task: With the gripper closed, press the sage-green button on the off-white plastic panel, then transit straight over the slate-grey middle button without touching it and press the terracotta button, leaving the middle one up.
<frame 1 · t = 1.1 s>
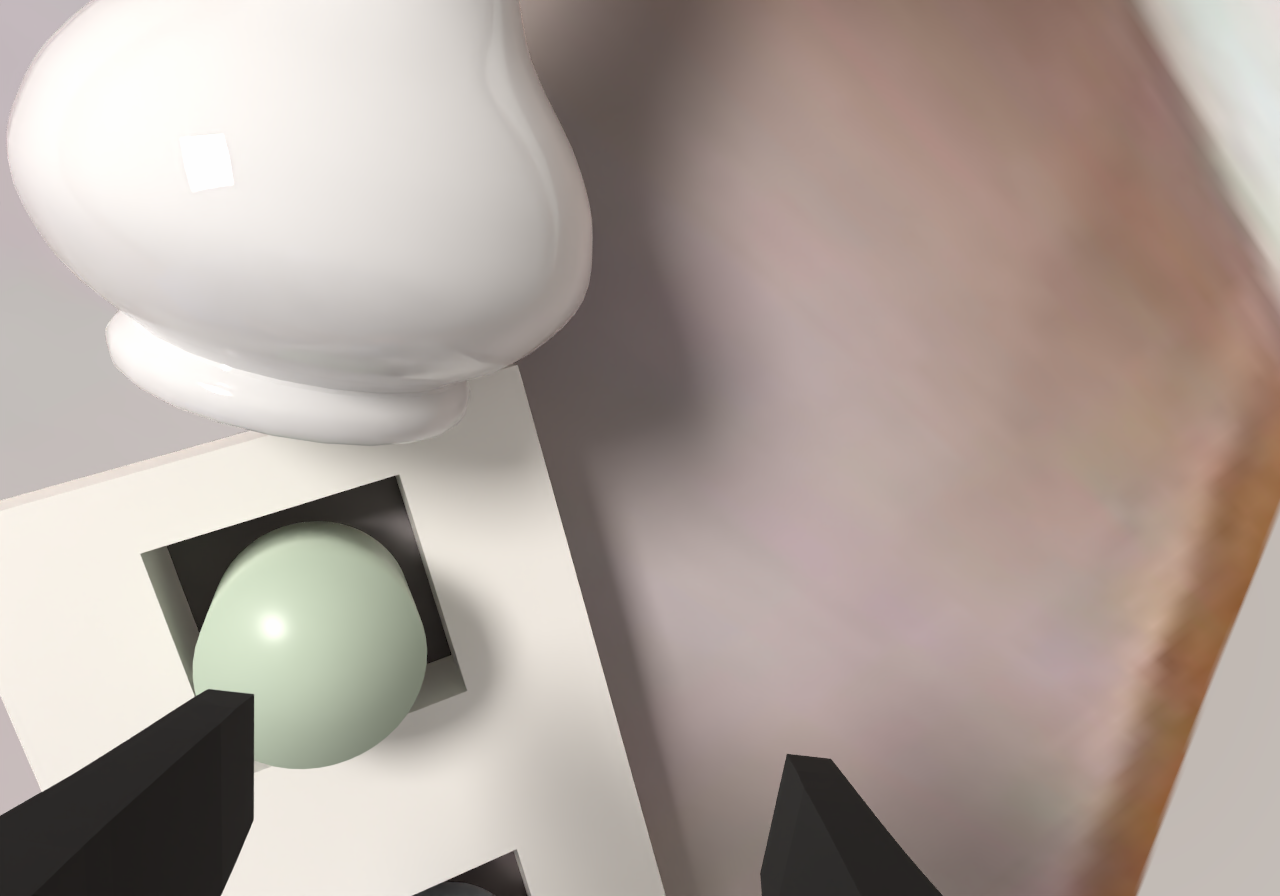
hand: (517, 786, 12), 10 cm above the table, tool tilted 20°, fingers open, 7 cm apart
sage button: (314, 635, 18), point 3 cm above the table, slide at 0.0 cm
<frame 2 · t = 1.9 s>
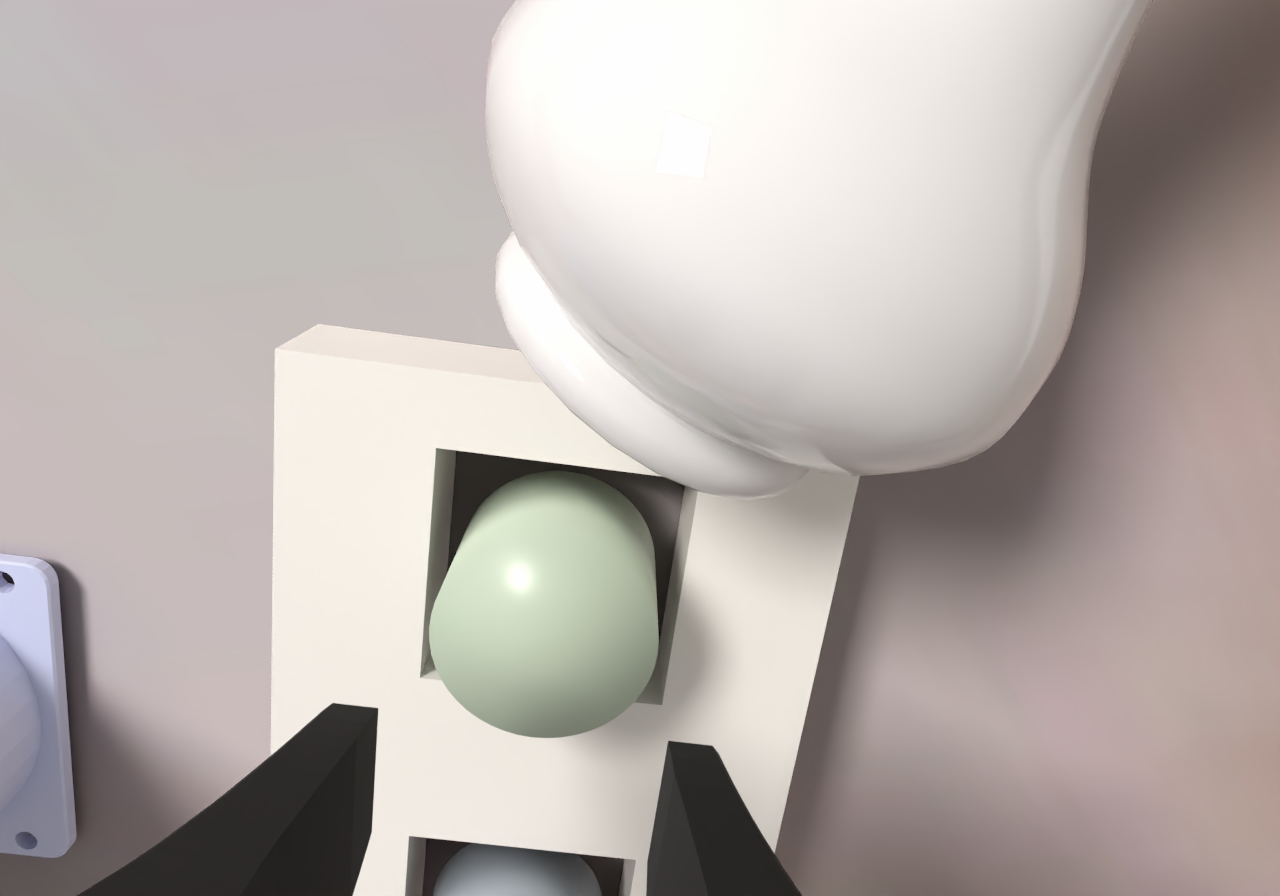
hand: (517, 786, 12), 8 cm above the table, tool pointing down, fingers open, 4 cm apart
panel: (524, 857, 23), on the table
sage button: (552, 597, 17), point 3 cm above the table, slide at 0.0 cm
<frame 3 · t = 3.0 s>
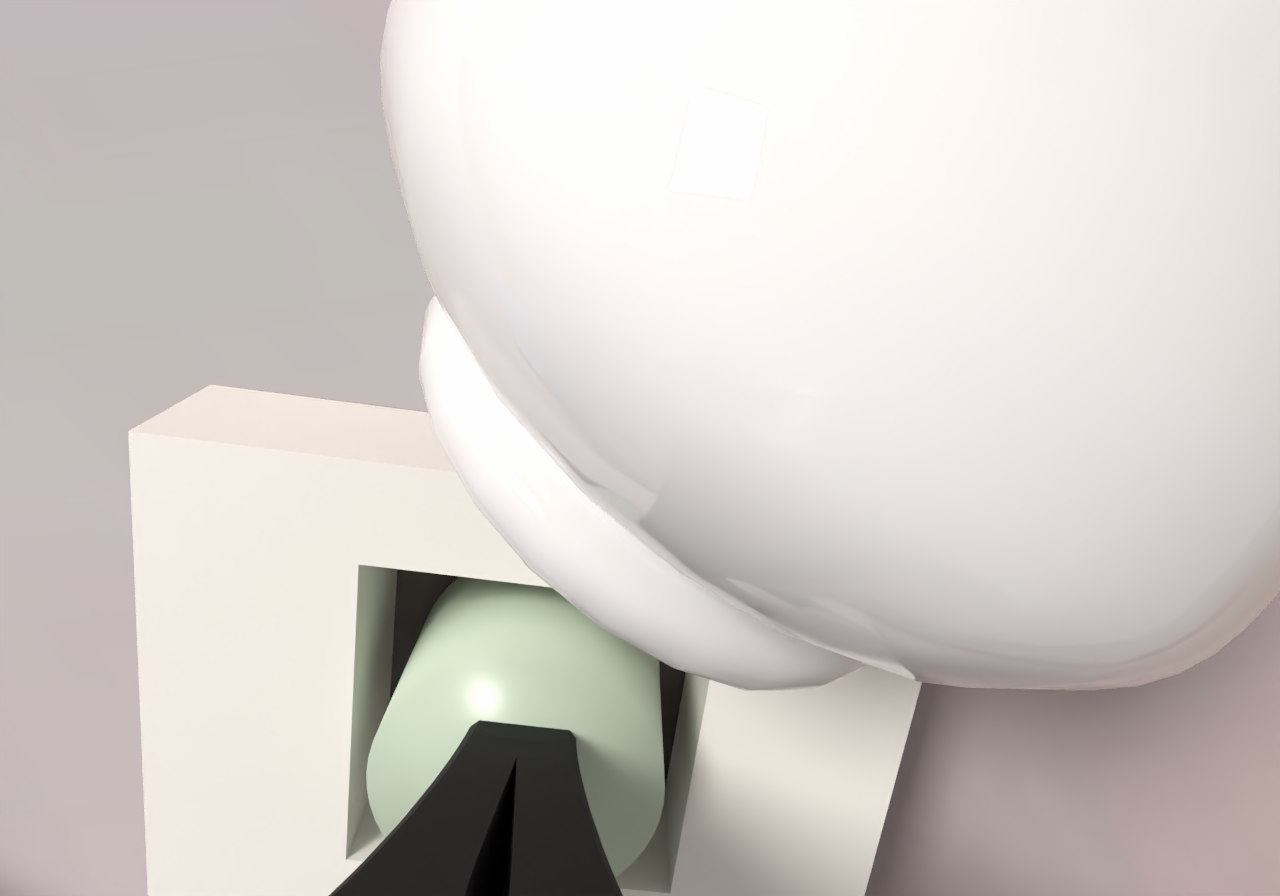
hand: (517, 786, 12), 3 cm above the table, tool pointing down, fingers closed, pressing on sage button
sage button: (529, 717, 14), point 2 cm above the table, slide at 1.1 cm, touching gripper
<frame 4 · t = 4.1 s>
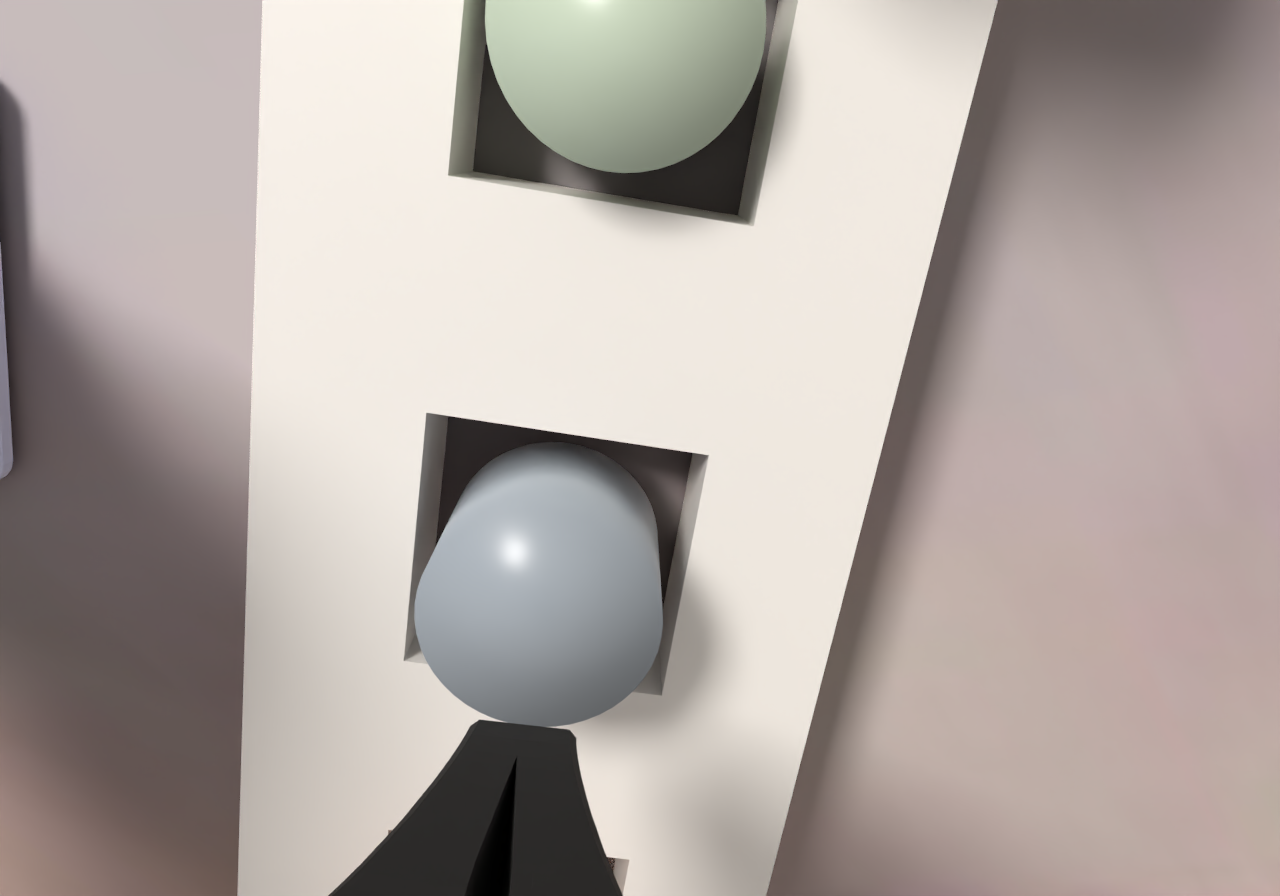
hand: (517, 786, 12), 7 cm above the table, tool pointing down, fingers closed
panel: (560, 511, 19), on the table
sage button: (626, 38, 14), point 2 cm above the table, slide at 1.1 cm
slate button: (547, 576, 16), point 3 cm above the table, slide at 0.0 cm
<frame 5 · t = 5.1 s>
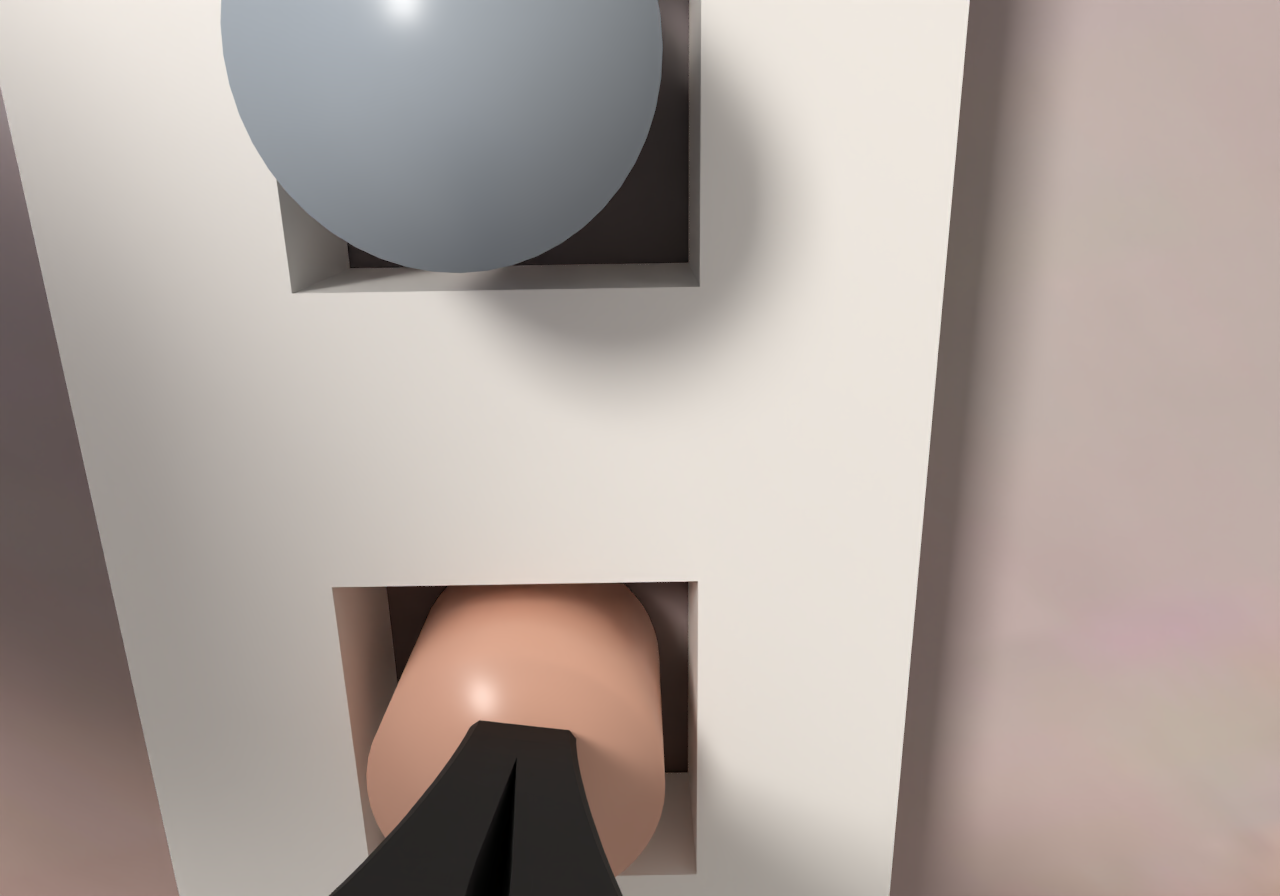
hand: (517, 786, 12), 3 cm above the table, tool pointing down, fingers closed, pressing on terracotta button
panel: (509, 83, 13), on the table
terracotta button: (529, 717, 14), point 2 cm above the table, slide at 1.1 cm, touching gripper
slate button: (472, 65, 10), point 3 cm above the table, slide at 0.0 cm
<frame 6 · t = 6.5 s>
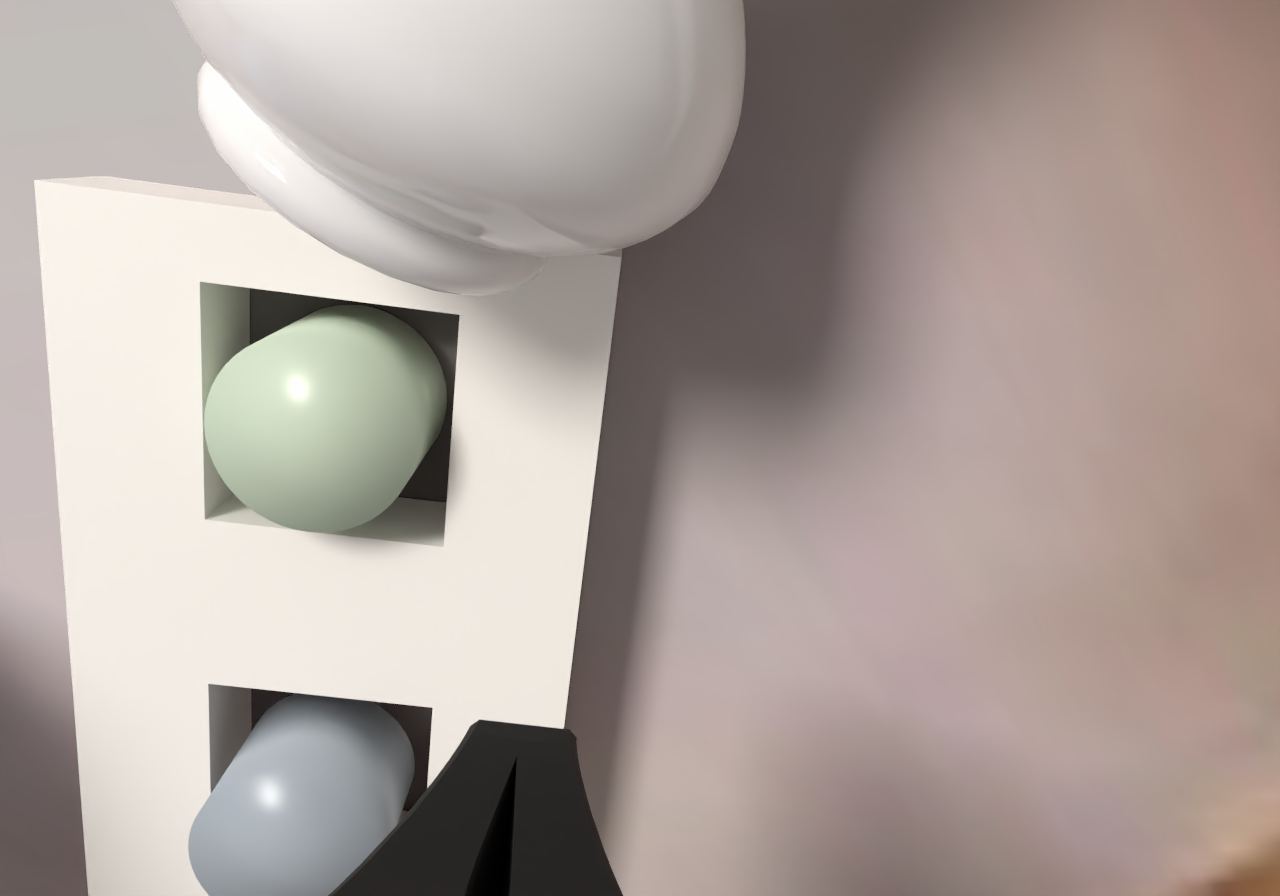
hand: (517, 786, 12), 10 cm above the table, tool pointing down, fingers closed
panel: (349, 725, 24), on the table
sage button: (335, 413, 19), point 2 cm above the table, slide at 1.1 cm
slate button: (310, 805, 21), point 3 cm above the table, slide at 0.0 cm
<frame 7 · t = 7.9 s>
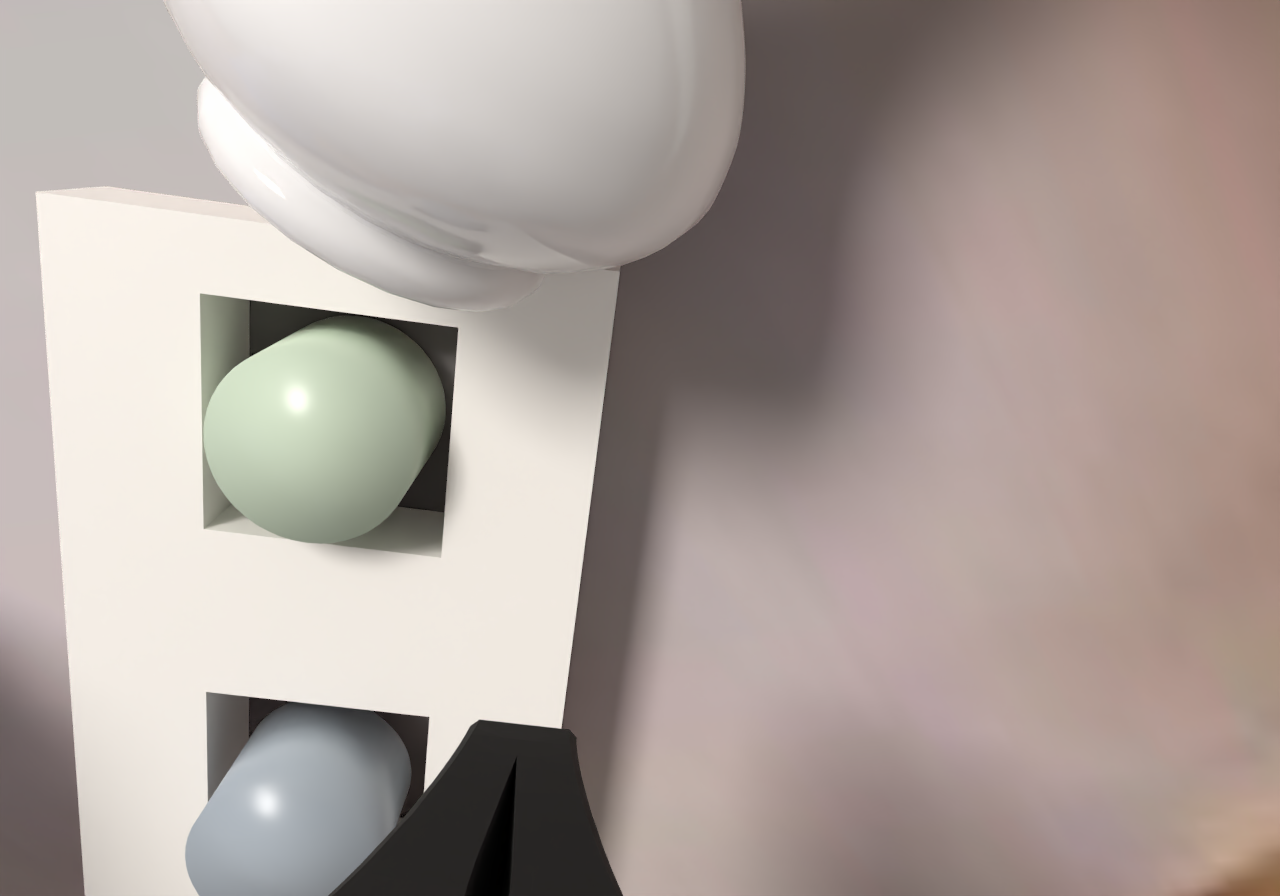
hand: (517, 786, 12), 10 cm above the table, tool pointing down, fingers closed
panel: (346, 732, 24), on the table
sage button: (334, 424, 19), point 2 cm above the table, slide at 1.1 cm
slate button: (306, 813, 21), point 3 cm above the table, slide at 0.0 cm
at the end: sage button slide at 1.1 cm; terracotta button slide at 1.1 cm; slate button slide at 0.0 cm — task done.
